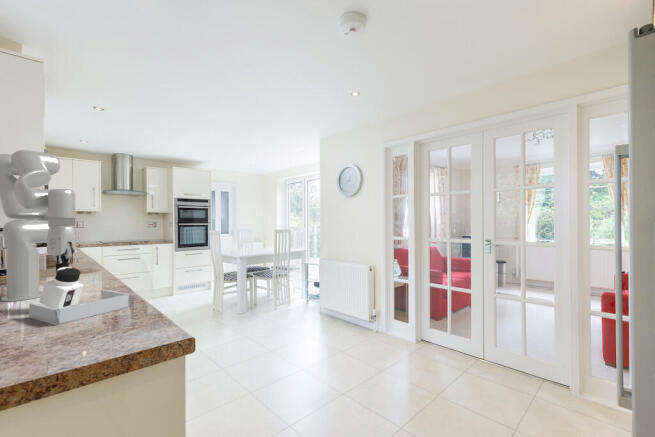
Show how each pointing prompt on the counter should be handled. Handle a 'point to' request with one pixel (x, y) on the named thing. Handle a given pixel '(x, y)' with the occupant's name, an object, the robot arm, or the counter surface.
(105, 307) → the tray
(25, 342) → the counter surface
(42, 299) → the container
